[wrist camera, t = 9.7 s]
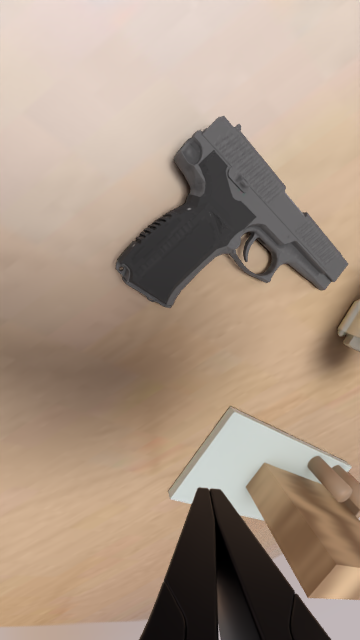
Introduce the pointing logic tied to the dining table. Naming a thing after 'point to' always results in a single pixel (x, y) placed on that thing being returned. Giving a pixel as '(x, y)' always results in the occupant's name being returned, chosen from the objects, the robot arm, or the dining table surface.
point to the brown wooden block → (310, 532)
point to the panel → (259, 464)
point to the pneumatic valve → (351, 327)
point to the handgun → (226, 221)
